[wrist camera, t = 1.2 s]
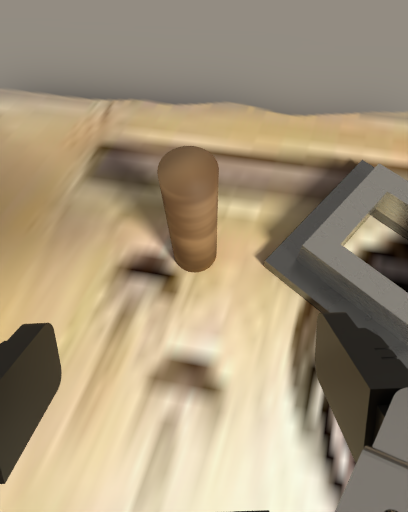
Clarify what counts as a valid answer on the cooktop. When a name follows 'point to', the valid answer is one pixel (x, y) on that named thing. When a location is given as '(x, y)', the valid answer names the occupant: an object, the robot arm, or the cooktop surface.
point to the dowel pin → (191, 205)
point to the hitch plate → (311, 282)
